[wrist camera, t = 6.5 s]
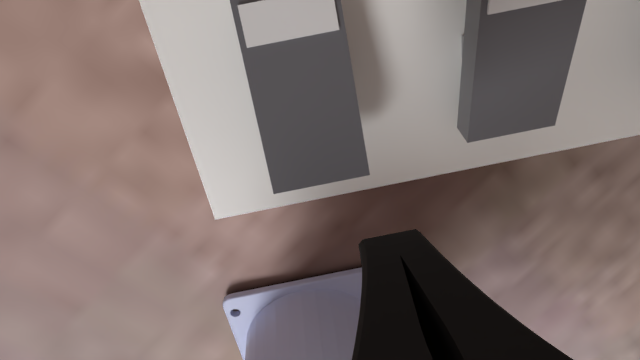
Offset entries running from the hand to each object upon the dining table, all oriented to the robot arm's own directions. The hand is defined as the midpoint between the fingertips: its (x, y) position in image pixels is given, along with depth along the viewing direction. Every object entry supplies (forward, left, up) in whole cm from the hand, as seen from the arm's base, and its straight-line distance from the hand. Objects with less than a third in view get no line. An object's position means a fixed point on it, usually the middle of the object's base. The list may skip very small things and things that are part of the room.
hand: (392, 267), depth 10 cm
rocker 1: (+3, +1, -6) cm, 7 cm away
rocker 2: (+3, -6, -6) cm, 9 cm away
